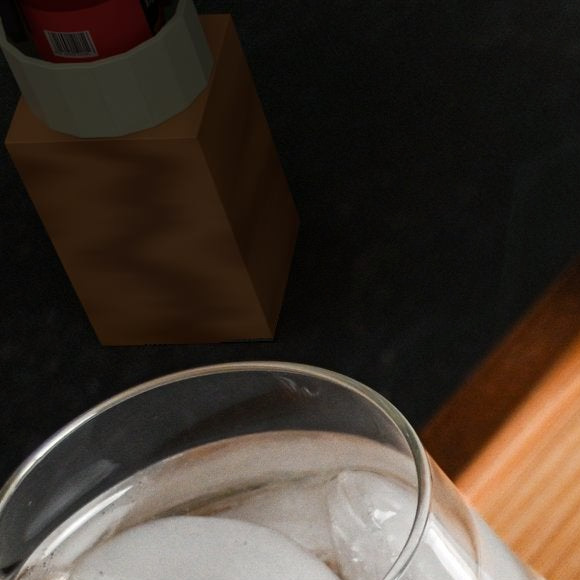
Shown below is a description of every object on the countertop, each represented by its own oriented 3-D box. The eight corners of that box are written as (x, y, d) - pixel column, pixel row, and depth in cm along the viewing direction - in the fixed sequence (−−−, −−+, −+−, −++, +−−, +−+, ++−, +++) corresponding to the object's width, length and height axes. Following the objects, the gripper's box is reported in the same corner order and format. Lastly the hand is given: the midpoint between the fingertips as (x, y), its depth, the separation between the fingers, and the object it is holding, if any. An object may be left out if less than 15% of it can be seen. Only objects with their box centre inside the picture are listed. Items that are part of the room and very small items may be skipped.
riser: (101, 346, 132) (3, 143, 118) (136, 226, 139) (47, 19, 124) (274, 342, 132) (196, 137, 117) (301, 221, 138) (230, 13, 124)
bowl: (7, 140, 118) (-26, 71, 114) (49, 21, 124) (19, -50, 120) (194, 135, 117) (167, 64, 113) (226, 15, 124) (202, -56, 119)
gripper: (141, -410, 113) (268, -10, 119) (-219, -332, 111) (-72, 74, 116) (123, -467, 106) (260, -39, 112) (-262, -385, 103) (-103, 51, 109)
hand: (91, 18), depth 114 cm, fingers closed on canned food, 8 cm apart
